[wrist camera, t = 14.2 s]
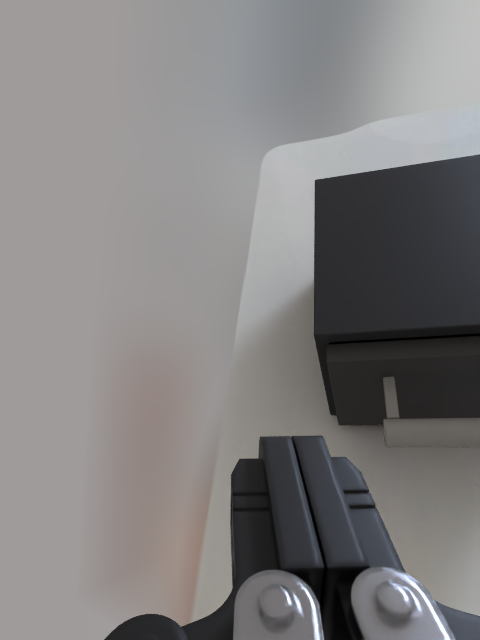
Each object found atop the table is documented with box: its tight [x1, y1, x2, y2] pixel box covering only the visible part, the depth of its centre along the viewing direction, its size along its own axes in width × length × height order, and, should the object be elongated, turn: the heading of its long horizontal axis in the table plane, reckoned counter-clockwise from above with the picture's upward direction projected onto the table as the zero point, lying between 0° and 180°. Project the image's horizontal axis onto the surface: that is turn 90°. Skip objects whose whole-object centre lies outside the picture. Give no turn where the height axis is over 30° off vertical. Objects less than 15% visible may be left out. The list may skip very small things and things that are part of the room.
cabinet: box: [314, 155, 480, 415], centre depth 30 cm, size 15×13×10 cm
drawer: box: [327, 334, 480, 447], centre depth 28 cm, size 17×11×8 cm, turn 174°
